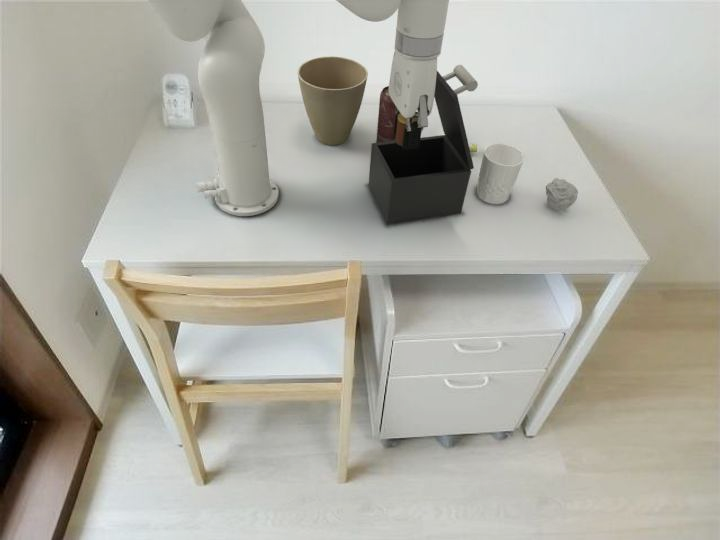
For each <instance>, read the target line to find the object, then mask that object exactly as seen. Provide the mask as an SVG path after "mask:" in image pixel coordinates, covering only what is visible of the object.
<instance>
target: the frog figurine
mask: <svg viewBox="0 0 720 540" xmlns="http://www.w3.org/2000/svg"><path fill="white" fill-rule="evenodd" d="M578 194H579V190H578V189H577V187H576V186H575V185H574V184H573V183H571V182H569V181H567V180H566V179H564V178H561V179H560V178H558V177H555V178H553V180H552V181H551V182H549V183H547V185H545V195H546V201H547V204H548V207H550V208H551V209H552V210H554V211H556V212H561V211H565V210H567V209H569V208H570V207H571V206H572V205H573V204H575V203H576V201H577V200H578Z"/></svg>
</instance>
